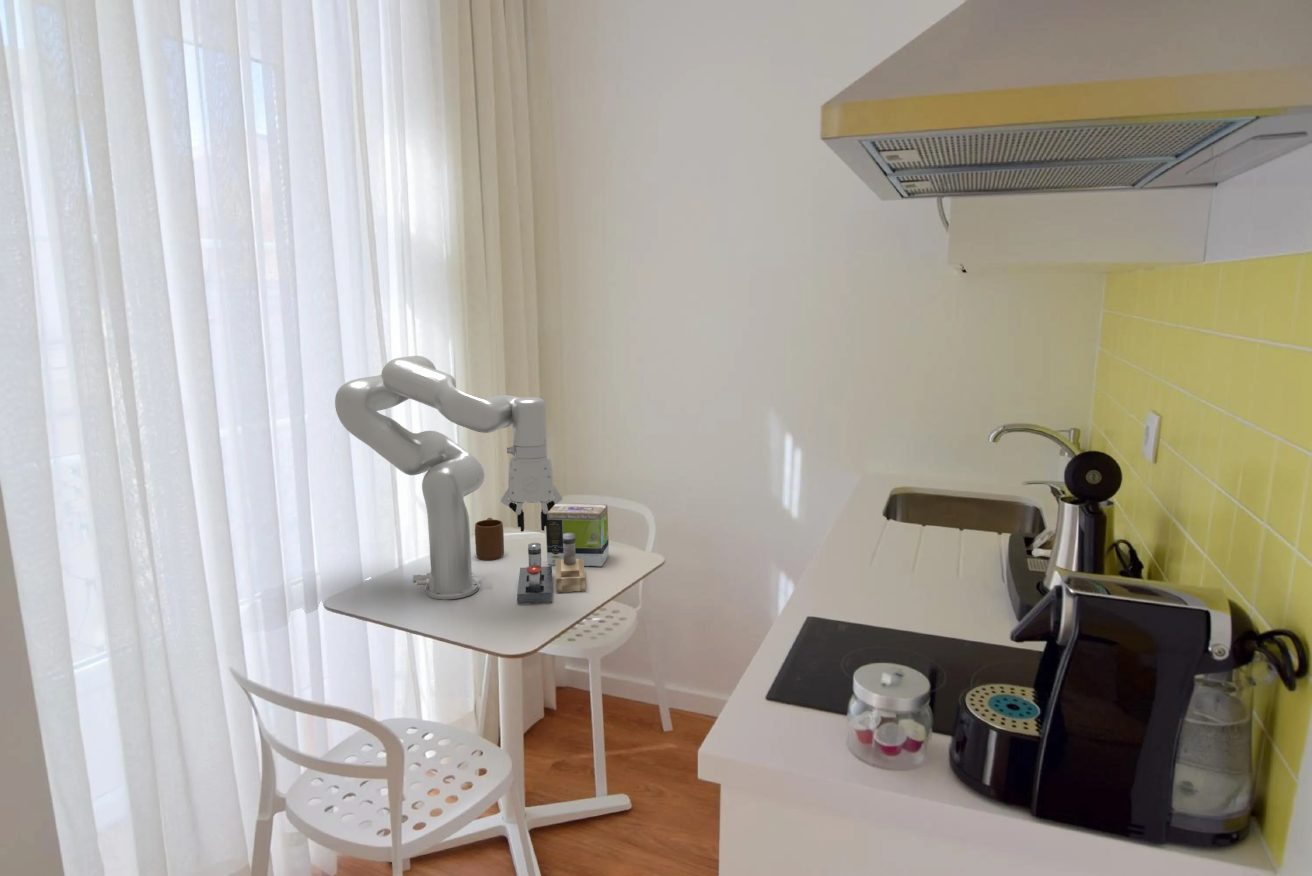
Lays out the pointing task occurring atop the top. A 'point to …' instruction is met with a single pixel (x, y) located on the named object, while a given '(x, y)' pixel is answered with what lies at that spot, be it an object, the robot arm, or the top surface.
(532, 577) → the red topped peg
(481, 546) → the mug
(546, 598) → the socket block
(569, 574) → the rack
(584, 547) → the tea box
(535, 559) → the grey metal cylinder
